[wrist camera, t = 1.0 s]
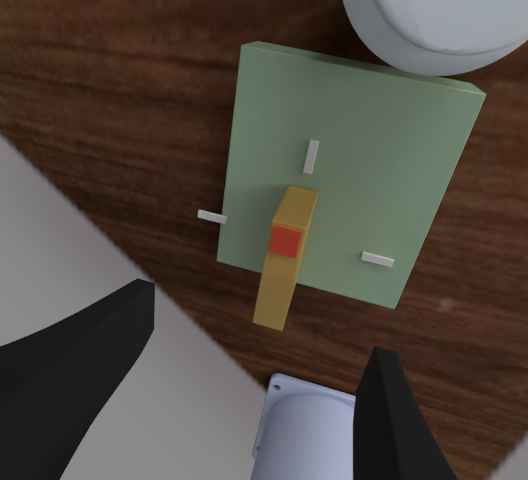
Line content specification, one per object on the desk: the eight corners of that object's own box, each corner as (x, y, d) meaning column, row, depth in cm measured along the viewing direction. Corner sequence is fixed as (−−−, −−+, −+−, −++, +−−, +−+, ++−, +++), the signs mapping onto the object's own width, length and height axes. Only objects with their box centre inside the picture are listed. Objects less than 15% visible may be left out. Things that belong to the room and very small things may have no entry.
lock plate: (380, 310, 22) (381, 343, 20) (209, 263, 24) (191, 289, 21) (472, 83, 16) (488, 95, 14) (232, 35, 17) (211, 39, 15)
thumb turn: (296, 283, 20) (280, 335, 17) (270, 276, 20) (250, 326, 17) (318, 191, 17) (306, 231, 14) (289, 184, 17) (270, 222, 14)
